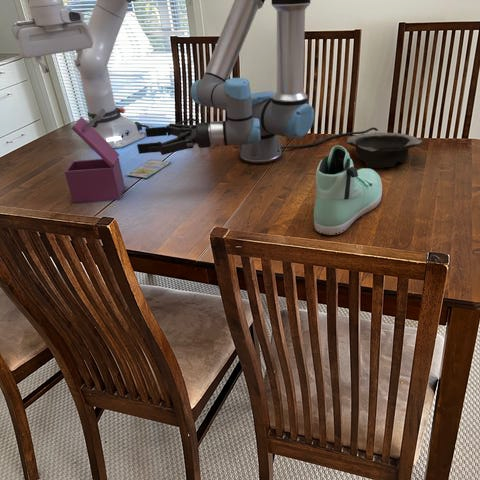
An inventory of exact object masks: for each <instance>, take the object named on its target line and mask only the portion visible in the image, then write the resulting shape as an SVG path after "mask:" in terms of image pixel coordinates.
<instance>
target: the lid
mask: <svg viewBox="0 0 480 480" xmlns="http://www.w3.org/2000/svg"><path fill="white" fill-rule="evenodd" d="M105 113H106V111H105V109H101V110H100V111H99V112H98V113H97V115H96V116H95V118H94V119H93V120H91V121H90V122H89V121H86V119H85V118H84V117H83V116H81V117H79V119H78V120H77V121H76V122H75V124H73V126H71V128H70V129H71V130H72V131H73V132H75V134H76V135H77V136H78V137H80V139H81V140H83V141H84V143H85V144H86V145H87V146H88V147H90V148H91V149H92V150H93V151H94V152H95V154H97V155H98V157H100V159H103V160H104V161H105V162H106V163H107V164H108V165H109V166H110V167H112V166H114V164H115V162H116V160H117V158H119V156H120V154H119V153H118V151H117V150H116V149H115V148H112V147H111V146H110V145H109V144H108V143H107V142H106V141H105V140H104V139H103V138H102V137H101V136H100V135H99V134H98V133H97V132H96V131H95V130H94V129H93V128H92V127H91V125H93V124H94V123H95V122H96V121H100V120H101V119H102V117H103V116H104V115H105Z"/></svg>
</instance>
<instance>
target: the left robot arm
mask: <svg viewBox="0 0 480 480" xmlns="http://www.w3.org/2000/svg"><path fill="white" fill-rule="evenodd" d="M136 1H137V0H95V3H94V6H93V9H92V12H91V15H90V18H89V19H88V23H87V22H85V21H84V20H85V14H84V12H82V11H77V10H73V9H71V8H65V4H64V0H28V6H29V11H30V14H31V18H32V19H25V20H18V21H15V23H14V24H13V25H12V27H11V31H12V34H13V37H14V38H15V40H16V43H17V49H18V52H19V56H20V57H22V58H24V59H25V60H26V59H33V58H34V61H35V62H36V64H38V65H39V66H40V68H41V70H42V73H43V74H47V73H50V69H49V65H47V64H44V63H43V62H42V61H43V58H42V57H45V56H52V55H56V54H62V53H68V52H74V51H75V54H76V57H75V59H74V60H73V62H74V66H75V67H76V69H77V71H78V72H79V75H80V80H81V81H80V82H81V86H82V91H83V96H84V100H85V104H86V108H87V118H88V123H89V122H90V121H91V120H93V119H94V118H95V116H96V115H97V113H98V112H99V111H100V110H101V109H105V111H106V113H105V115H104V116H103V117H102V119H101V120H100V121H96V122H95V123H94V124H93V125H91V127H92V128H93V129H94V130H95V131H96V132H97V133H98V134H99V135H100V136H101V137H102V138H103V139H104V140H105V141H106V142H107V143H108V144H109V145H110V146H111V147H112V148H113V149H121V148H122V149H123V148H124V147H127V146H128V145H131V144H132V143H135V142H137V141H139V140H141V139H143V138H145V137H146V135H145V133H144V132H142V131H143V128H145V129H146V128H150V126H148V125H146V124H141V123H140V122H138V121H135V122H134V121H133V120H131V119H129V118H127V117H125V116H123V115H122V114H125V112H126V109H125V108H124V107H123V108H122V107H117V106H116V103H115V97H114V94H113V88H112V84H111V78H110V73H109V68H108V64H109V63H110V62H109V61H110V58H111V55H112V53H113V50H114V47H115V45H116V44H115V43H116V41H117V38H118V35H119V33H120V30H121V27H122V25H123V23H124V20H125V18H126V14H127V12H128V8H129V3H132V2H136ZM189 121H193V122H197V119H195V118H192V117H191V118H187V119H185V120H182V121H181V120H180V121H178V122H177V123H176V122H175V124H184V123H186V122H189ZM173 127H174V126H173Z"/></svg>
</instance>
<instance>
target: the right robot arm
mask: <svg viewBox="0 0 480 480" xmlns="http://www.w3.org/2000/svg"><path fill="white" fill-rule="evenodd" d="M265 1H266V0H234V1H233V3H232V5H231V8H230V10H229V13H228V16H227V17H226V20H225V23H224V24H223V28H222V30H221V32H220V35H219V37H218V39H217V42H216V44H215V47H214V49H213V52H212V55H211V56H210V59H209V62H208V64H207V67H206V69H205V72H204V75H203V76H202V78H201V79H197V80H195V81H194V82H193V83H192V84H191V87H190V97H191V99H192V101H193V102H194V103H195V104H197V105H201V106H203V107H209V108H213V109H219V110H223V111H226V116H227V117H226V118H227V120H219V121H217V120H216V121H210V123H209V122H198V123H196V124H183V123H181V124H176V123H169V124H168V125H166V126H157V127H149V128H146V127H145V129H144V130H145V134H146V135H145V136H146V138H153V137H165V136H167V137H170V136H174V138H172V139H170V140H166V141H164V142H161V141H158V142H147V143H146V142H145V143H137V145H136V146H137V152H138V155H139V154H140V155H141V154H150V153H151V154H153V153H160V154H161V156H165V155H169V154H172V153H177V152H180V151H184V150H189V149H190V150H191V149H194V145H195V144H197V147H198V148H199V149H206V148H210V147H211V146H212V147H214V148H215V147H219V148H220V149H221V148H223V147H228V146H240V147H238V148H237V150H238V151H237V152H238V153H240V154H239V155H240V160H241V161H243V162H244V163H247V164H249V165H250V164H251V165H266V164H271V163H275V162H277V161H279V160H281V158H282V157H283V154H282V153H283V152H282V151H283V150H285V149H286V150H287V149H300V148H308V147H314V146H317V145H320V144H323V143H324V142H326V141H328V140H331V139H335V138H338V137H339V138H340V137H344V136H354V135H359V134H366V133H370V131H373V130H374V132H375V131H376V132H378V131H379V130H378V128H377V127H370V128H368V129H366V130H363V131H362V130H361V131H351V132H343V133H339V134H338V133H337V134H334V135H331V136H328V137H325V138H323V139H321V140H320V141H315V142H312V143H308V144H307V143H306V144H300V145H283V146H281V144H280V142H279V140H278V137H277V136H281V137H284V138H286V139H294V140H298V139H302V138H304V137H305V136H306V135H307V134H308V133H309V132H310V130H311V128H312V126H313V124H314V121H315V109H314V107H313V106H312V105H311V104H310V103H308V94H307V93H306V92H305V91H304V70H305V69H304V67H305V29H306V28H305V27H306V9H307V8H308V7H309V6H310V5H311V0H271V6H272V7H273V9H275V11H276V91H275V92H274V91H272V90H271V91H269V90H268V91H266V90H265V91H259V92H254V93H252V91H251V86H250V85H251V84H250V81H249V79H248V78H244V77H232V78H230V77H231V75H232V73H233V69H234V68H235V65H236V62H237V60H238V58H239V55H240V52H241V50H242V48H243V46H244V43H245V41H246V38H247V36H248V34H249V31H250V29H251V26H252V23H253V21H254V19H255V17H256V14H257V12H258V10H260V9H262V8H263V6H264V4H265ZM173 126H174V127H173Z"/></svg>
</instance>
